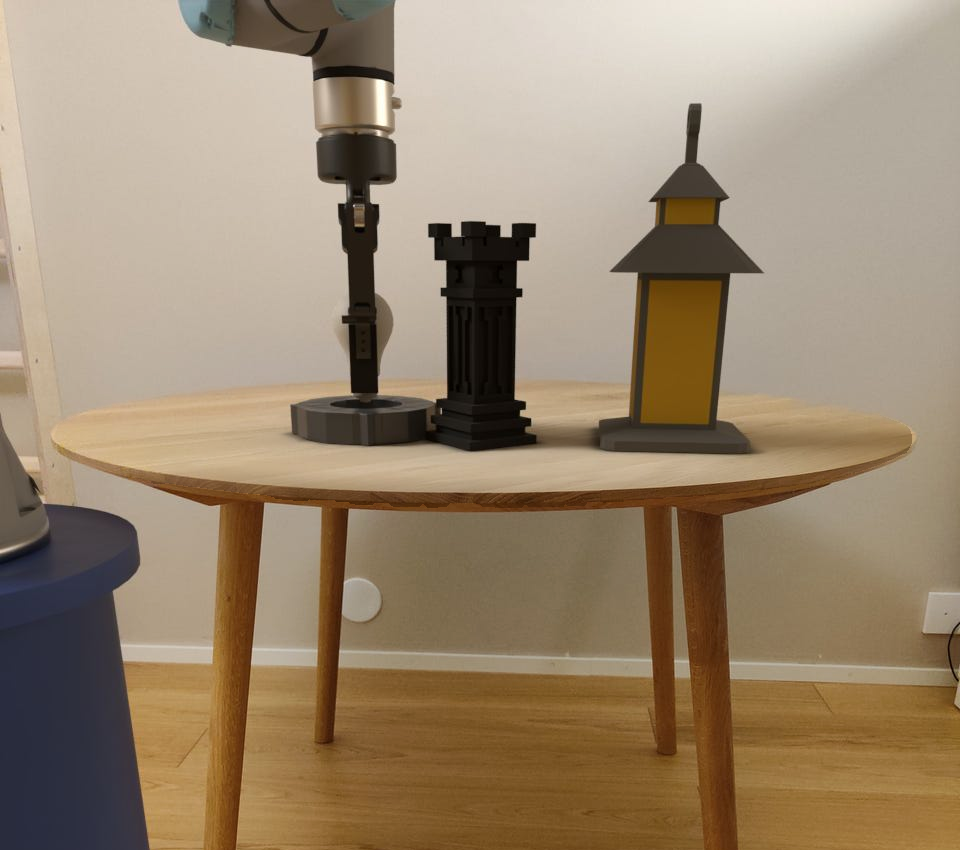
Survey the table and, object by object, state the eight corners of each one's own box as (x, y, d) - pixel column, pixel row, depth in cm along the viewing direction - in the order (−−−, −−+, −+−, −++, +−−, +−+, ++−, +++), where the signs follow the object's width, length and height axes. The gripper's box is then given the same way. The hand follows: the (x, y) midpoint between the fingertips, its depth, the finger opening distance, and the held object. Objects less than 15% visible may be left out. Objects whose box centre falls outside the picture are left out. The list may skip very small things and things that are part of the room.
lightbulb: (398, 399, 101) (395, 289, 97) (391, 406, 96) (389, 290, 92) (340, 398, 101) (336, 288, 97) (331, 405, 96) (326, 289, 92)
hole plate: (368, 449, 91) (367, 417, 89) (270, 434, 99) (268, 404, 98) (461, 431, 101) (461, 402, 100) (366, 418, 109) (365, 391, 108)
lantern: (729, 430, 103) (761, 114, 92) (751, 454, 90) (790, 90, 79) (598, 427, 104) (613, 116, 93) (600, 450, 91) (619, 91, 80)
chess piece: (490, 432, 101) (492, 225, 93) (536, 443, 94) (542, 223, 87) (425, 438, 96) (422, 223, 89) (469, 451, 90) (469, 220, 83)
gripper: (400, 123, 81) (405, 400, 90) (392, 149, 99) (397, 378, 107) (311, 120, 80) (324, 400, 89) (319, 147, 98) (329, 379, 106)
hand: (364, 388), depth 98 cm, fingers closed on lightbulb, 6 cm apart
